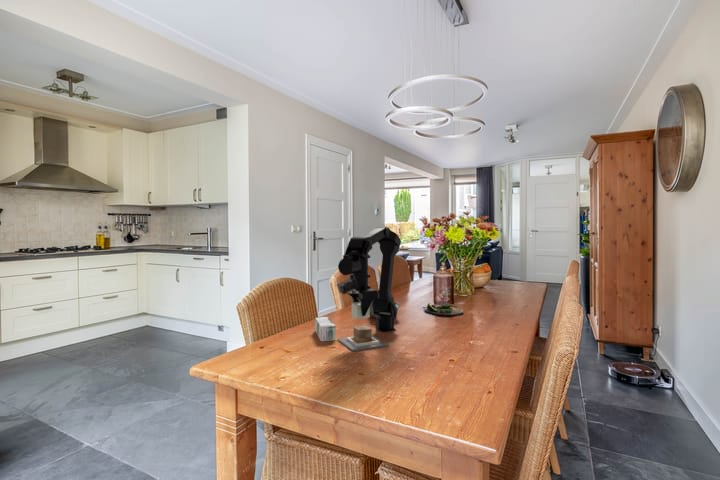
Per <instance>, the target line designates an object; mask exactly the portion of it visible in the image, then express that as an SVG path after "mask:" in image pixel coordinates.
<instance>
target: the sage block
mask: <svg viewBox="0 0 720 480" xmlns="http://www.w3.org/2000/svg"><path fill="white" fill-rule="evenodd" d="M351 317H352V318H353V319H356V320H362V319H369V318H370V317H371V316H370V306H369V309H368V311H367V313H366V315H365V316H362V312H361V305H360V302H354V303H353V302H351Z"/></svg>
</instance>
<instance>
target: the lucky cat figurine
mask: <svg viewBox="0 0 720 480" xmlns="http://www.w3.org/2000/svg"><path fill="white" fill-rule="evenodd" d="M372 303H373V301H372ZM372 303H371V304H370V317H371V318H372V319H376V318H377V315H374V312H373V307H372ZM394 304H395V306H396V308H397V310H399V309H400V303H398V302H395V300H394Z"/></svg>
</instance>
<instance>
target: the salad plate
mask: <svg viewBox="0 0 720 480" xmlns="http://www.w3.org/2000/svg"><path fill="white" fill-rule="evenodd" d="M422 309H423V310H424V312H425V313H426V314H428V313H429V315H431V314H432V316H435V315H436V317H441V316H442V317H445V318H448V317H449V318H450V317H454V316H458V315H460V314H463V313H464V310H463V309H461V308H458V306H457V305H453V304H451V303H450V304H449V303H442V304H441V305H435V304H432V303H430V302H428V304H427V306H422Z"/></svg>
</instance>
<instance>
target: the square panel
mask: <svg viewBox="0 0 720 480" xmlns="http://www.w3.org/2000/svg"><path fill="white" fill-rule="evenodd" d="M337 341H338V342H340V343H341V344H342V345H344V346H345V347H346V348H347V349H349V350H350V351H351V352H353V353H354V352H359V351H366V350H372V349H379V348H385V347H389V346H390V345H389V343H387V342H385V340H382V339H381V338H379V337H377V336H375V335H374V334H372V342H365V343H357V342H355V341H354V336H349V337H341V338H337Z"/></svg>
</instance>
